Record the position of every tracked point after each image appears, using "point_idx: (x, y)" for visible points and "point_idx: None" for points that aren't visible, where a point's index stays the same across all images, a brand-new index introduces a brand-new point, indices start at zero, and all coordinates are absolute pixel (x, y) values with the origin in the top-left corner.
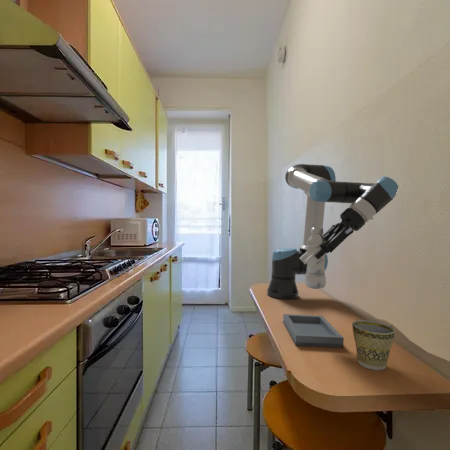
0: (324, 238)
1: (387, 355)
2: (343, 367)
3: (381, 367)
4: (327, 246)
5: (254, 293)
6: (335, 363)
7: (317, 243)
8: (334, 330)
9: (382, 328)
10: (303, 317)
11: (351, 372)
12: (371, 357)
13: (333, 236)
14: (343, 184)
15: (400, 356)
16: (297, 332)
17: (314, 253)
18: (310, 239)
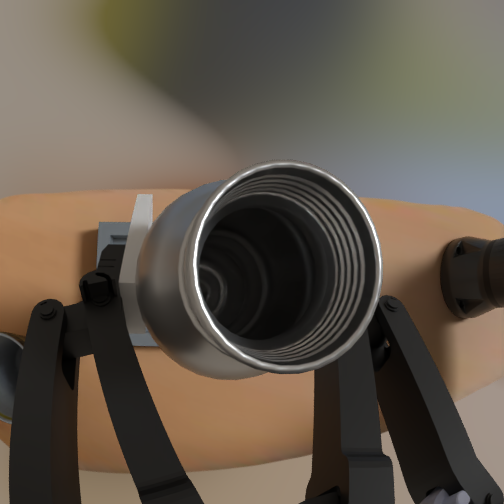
0: (334, 386)
1: (8, 385)
2: (19, 299)
3: (16, 370)
4: (33, 316)
5: (460, 207)
6: (31, 290)
7: (138, 257)
8: (144, 340)
9: None
10: None
11: (5, 306)
12: (5, 352)
13: (121, 445)
14: None
15: (86, 444)
16: (118, 230)
17: (128, 241)
18: (204, 192)
